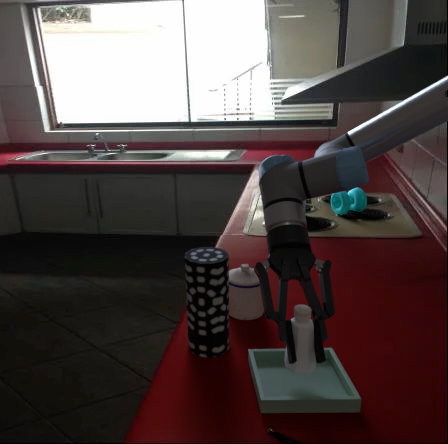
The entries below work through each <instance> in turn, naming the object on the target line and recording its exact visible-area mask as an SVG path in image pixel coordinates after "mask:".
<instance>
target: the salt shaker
mask: <svg viewBox="0 0 448 444" xmlns="http://www.w3.org/2000/svg"><path fill="white" fill-rule="evenodd" d="M311 312H312V309H311V308H310V307H309V305H308V304H307V305H306V304H296V305H295V306H294V307H293V317H292V318H290V320H291V323H292V330H293V337H294V344H295V350H296V357H297V361H296V362H295V363H294V364H289V361H288V354H287V347H286V346H285V349H286V350H285V356H284V362H285V367H286V368H288V369H290V370H291V371H293V372H294V373H301V374H309V373H310V372H312V371H313V370H315V369H316V359H315V350H314V325H313V322H312V321H313V319H311V318H312V313H311Z"/></svg>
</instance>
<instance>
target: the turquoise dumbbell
mask: <svg viewBox="0 0 448 444" xmlns="http://www.w3.org/2000/svg"><path fill="white" fill-rule="evenodd" d="M367 204H368V197H367V194H366V192H365V191H364V190H363V189H362V188H361V187H357V188H354V189H352V190H350V191H348V192H347V190H346V191H342V192H338V193H333V194H331V197H330V206H331V209H332V211H333V212H334V213H335V215H338V214H340V215H339V216H344V215H346V214H348V212H350V211H351V210H353V211H357V212H361V213H362V212H364V211H365V210H366V207H367ZM343 214H344V215H343Z"/></svg>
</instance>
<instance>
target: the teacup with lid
mask: <svg viewBox="0 0 448 444" xmlns="http://www.w3.org/2000/svg"><path fill="white" fill-rule="evenodd" d="M263 314H265V312H264V306H263V300H262V294H261V289H260V283H259V278H258V277H257V275H256V273H255V271H254V268H252V267H251V266H250V265H249V264H248V263H243V264H240V267H237V268H232V269H229V317H232V318H233V319H237V320H240V321H253V320H256V319H259V318H261V317H262V316H263Z"/></svg>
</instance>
